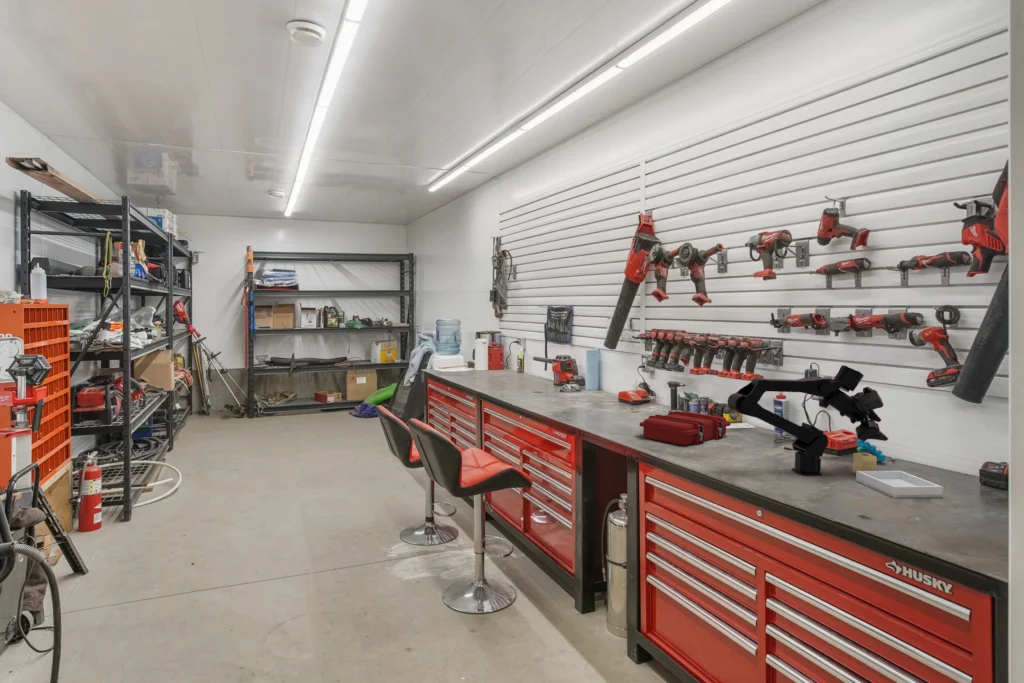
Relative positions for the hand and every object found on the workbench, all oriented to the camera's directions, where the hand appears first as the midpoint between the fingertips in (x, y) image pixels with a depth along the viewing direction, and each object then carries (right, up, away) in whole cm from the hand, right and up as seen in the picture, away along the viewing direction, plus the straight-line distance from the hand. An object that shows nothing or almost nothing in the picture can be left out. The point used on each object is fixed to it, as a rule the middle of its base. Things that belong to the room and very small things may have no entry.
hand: (883, 430), depth 183 cm
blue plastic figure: (+5, -13, +15) cm, 21 cm away
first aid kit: (-47, -11, +51) cm, 70 cm away
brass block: (-6, -14, 0) cm, 15 cm away
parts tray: (-6, -14, -16) cm, 23 cm away
